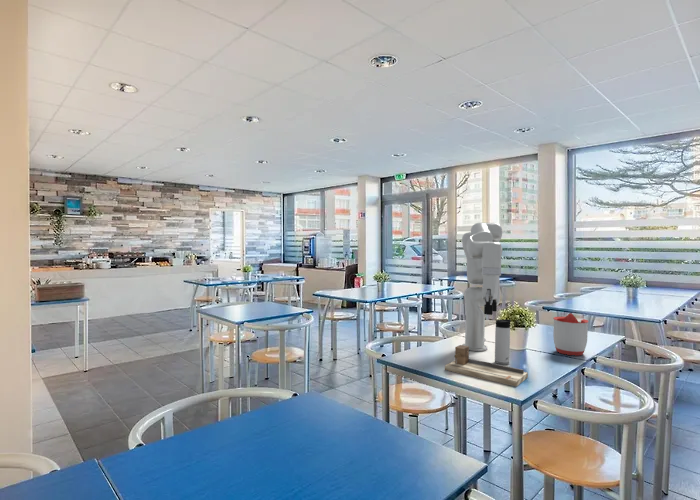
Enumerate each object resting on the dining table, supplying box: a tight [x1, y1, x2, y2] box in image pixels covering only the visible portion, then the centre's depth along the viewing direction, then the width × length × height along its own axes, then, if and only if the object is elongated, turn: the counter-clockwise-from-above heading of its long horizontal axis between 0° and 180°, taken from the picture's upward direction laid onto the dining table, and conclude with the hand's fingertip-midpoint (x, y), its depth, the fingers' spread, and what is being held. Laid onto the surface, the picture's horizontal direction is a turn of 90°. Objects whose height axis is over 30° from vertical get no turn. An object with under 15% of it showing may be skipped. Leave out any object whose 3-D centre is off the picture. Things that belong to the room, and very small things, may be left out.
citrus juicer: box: [553, 313, 589, 356], centre depth 209 cm, size 16×17×20 cm
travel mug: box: [494, 318, 512, 366], centre depth 190 cm, size 6×7×20 cm
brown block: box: [454, 344, 470, 365], centre depth 181 cm, size 8×4×7 cm, turn 140°
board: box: [444, 358, 529, 388], centre depth 175 cm, size 14×30×4 cm, turn 50°
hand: (490, 312), depth 174 cm, fingers open, 9 cm apart
